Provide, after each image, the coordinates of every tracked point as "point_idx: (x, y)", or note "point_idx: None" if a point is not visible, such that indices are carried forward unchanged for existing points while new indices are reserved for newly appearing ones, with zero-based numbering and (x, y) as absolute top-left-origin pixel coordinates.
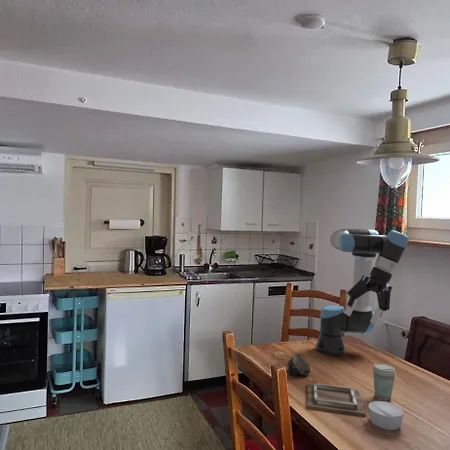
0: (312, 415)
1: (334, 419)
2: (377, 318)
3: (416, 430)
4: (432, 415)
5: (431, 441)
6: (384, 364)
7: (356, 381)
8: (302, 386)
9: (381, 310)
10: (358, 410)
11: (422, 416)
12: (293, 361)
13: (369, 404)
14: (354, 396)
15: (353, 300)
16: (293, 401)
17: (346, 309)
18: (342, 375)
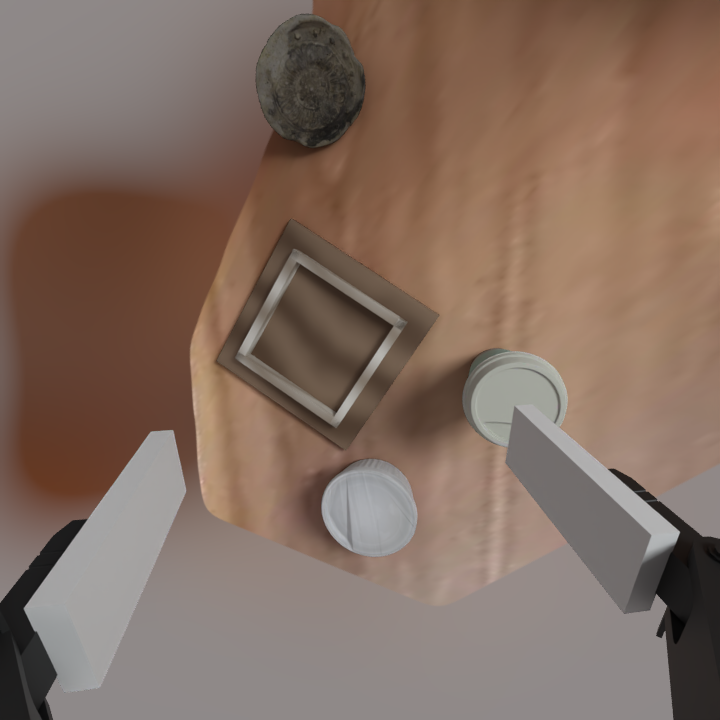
0: (216, 395)
1: (259, 430)
2: (544, 509)
3: (427, 544)
4: None
5: (421, 587)
6: (549, 379)
7: (504, 231)
8: (275, 221)
9: (623, 604)
10: (338, 430)
11: (513, 506)
12: (260, 91)
13: (338, 478)
14: (365, 380)
15: (48, 656)
16: (202, 311)
17: (133, 466)
18: (490, 159)
